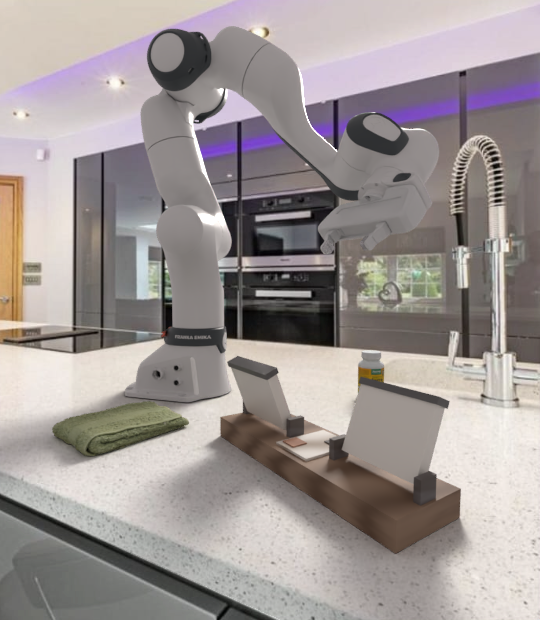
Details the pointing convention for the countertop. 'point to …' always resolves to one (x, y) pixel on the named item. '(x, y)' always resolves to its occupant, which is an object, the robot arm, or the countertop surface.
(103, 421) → the washcloth
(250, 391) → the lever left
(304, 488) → the switch base
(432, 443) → the grey flat panel
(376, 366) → the supplement bottle
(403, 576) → the countertop surface
